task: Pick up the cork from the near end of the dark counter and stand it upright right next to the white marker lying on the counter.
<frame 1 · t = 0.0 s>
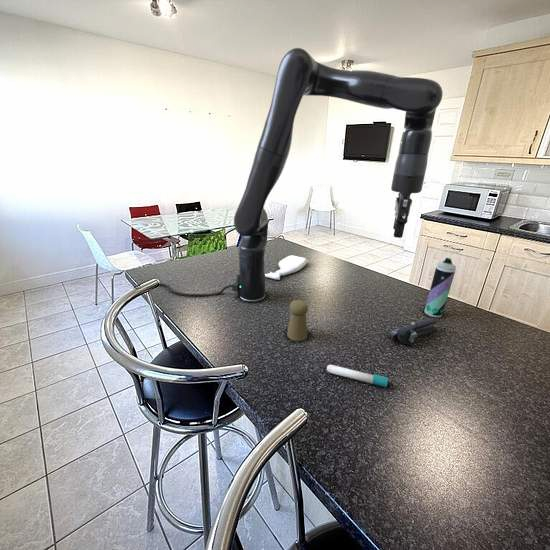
hand: (397, 233, 82), 29 cm above the kitchen island, tool pointing down, fingers open, 8 cm apart
spray can: (432, 313, 100), on the kitchen island
marker: (355, 378, 71), on the kitchen island
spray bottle: (285, 270, 131), on the kitchen island
cork: (297, 335, 87), on the kitchen island
can opener: (414, 337, 87), on the kitchen island
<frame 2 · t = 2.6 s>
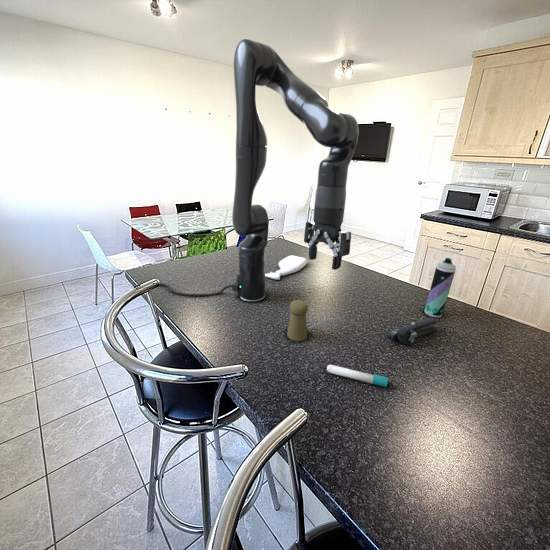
hand: (323, 263, 80), 22 cm above the kitchen island, tool pointing down, fingers open, 8 cm apart
nothing on the kitchen island moved.
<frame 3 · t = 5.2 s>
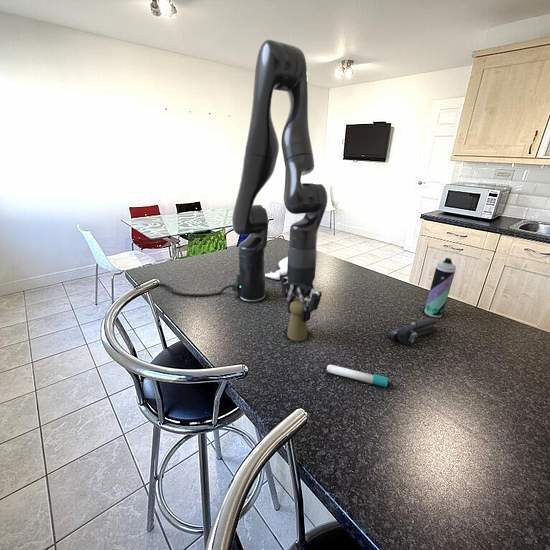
hand: (298, 316, 84), 6 cm above the kitchen island, tool pointing down, fingers closed on cork, 5 cm apart
cork: (297, 335, 87), on the kitchen island, touching gripper
everything else where it was.
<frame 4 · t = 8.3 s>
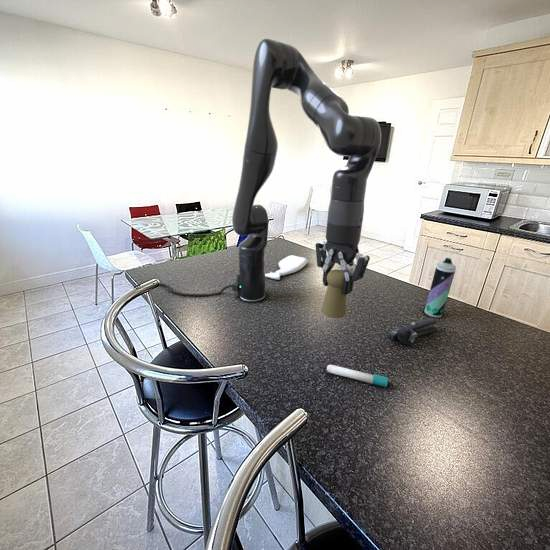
hand: (336, 289, 70), 20 cm above the kitchen island, tool pointing down, fingers closed on cork, 5 cm apart
cork: (333, 312, 73), point 13 cm above the kitchen island, touching gripper
everything else where it was.
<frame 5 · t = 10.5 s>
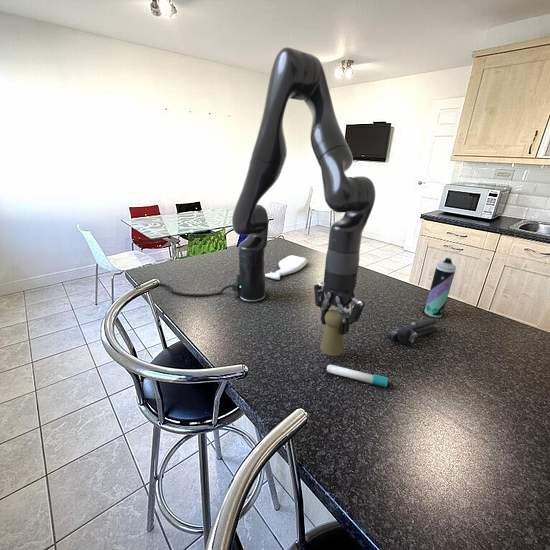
hand: (334, 327, 74), 9 cm above the kitchen island, tool pointing down, fingers closed on cork, 5 cm apart
cork: (331, 348, 77), point 2 cm above the kitchen island, touching gripper
everything else where it was.
when the fingers open (6 cm above the kitchen island, at t = 11.7 s): cork stays where it is, on the kitchen island.
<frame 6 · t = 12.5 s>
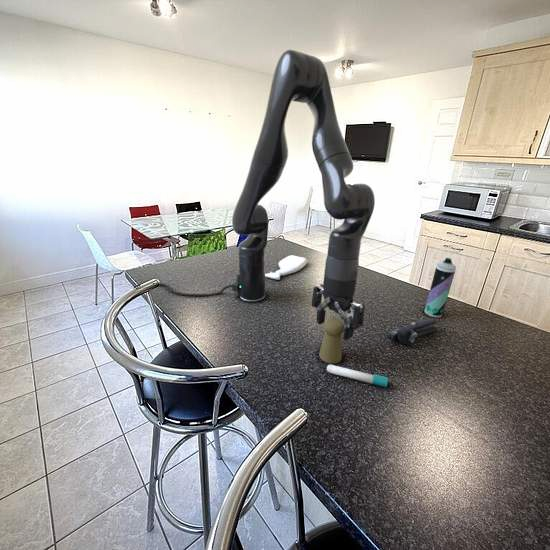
hand: (333, 330, 75), 8 cm above the kitchen island, tool pointing down, fingers open, 8 cm apart
cork: (330, 356, 78), on the kitchen island
everything else where it was.
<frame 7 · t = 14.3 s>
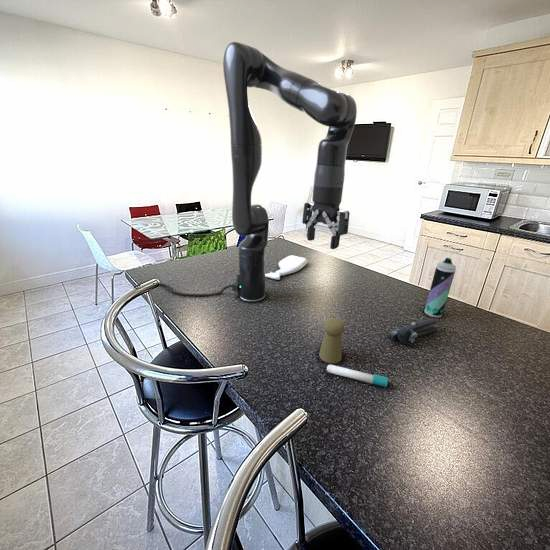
hand: (321, 244, 81), 26 cm above the kitchen island, tool pointing down, fingers open, 8 cm apart
nothing on the kitchen island moved.
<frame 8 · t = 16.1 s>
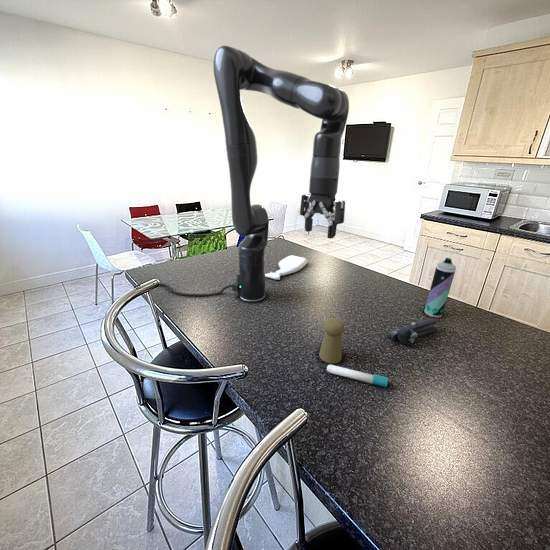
hand: (319, 234, 84), 28 cm above the kitchen island, tool pointing down, fingers open, 8 cm apart
nothing on the kitchen island moved.
at the end: cork 9.3 cm from the marker (horizontally); cork tilted 0°; the gripper is holding nothing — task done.
